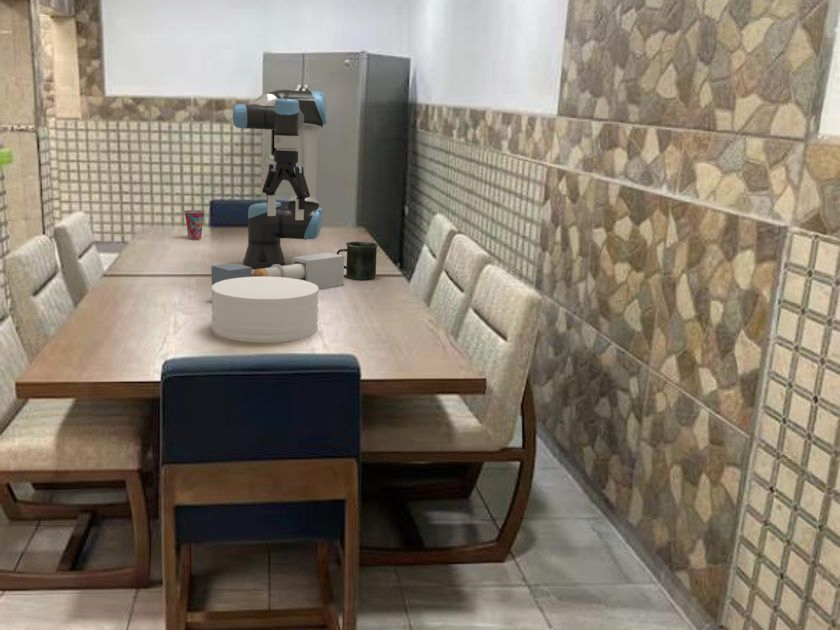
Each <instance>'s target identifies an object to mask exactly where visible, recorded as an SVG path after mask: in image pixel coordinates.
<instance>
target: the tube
mask: <svg viewBox="0 0 840 630" xmlns="http://www.w3.org/2000/svg"><path fill="white" fill-rule="evenodd" d="M252 277H285V278H293V279H303V278H306V263H299V264H292V263H291V264H285V266H281V265H279V264H274V265H272V266H271V267H270V268H262V269H255V270H253V272H252Z"/></svg>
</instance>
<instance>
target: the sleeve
mask: <svg viewBox="0 0 840 630" xmlns="http://www.w3.org/2000/svg"><path fill="white" fill-rule="evenodd" d="M299 263H306V278H303V279H299V280H304V281H308V282H311V283H313V284H315V285H317V286H318V288H319V290H323V289H329V288H334V287H340V286H341V287H342V286H344V278H345V277H344V273H345V272H344V270H345V269H344V266H345V256H344V255H341V254H339V255H337V253H333V252H322V253H313V254H307V255H299V256H292V257H291V265H292V264H299Z"/></svg>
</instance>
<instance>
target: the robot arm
mask: <svg viewBox="0 0 840 630" xmlns="http://www.w3.org/2000/svg"><path fill="white" fill-rule="evenodd" d="M326 102H327V101H326V97H325V94H324V93H323V92H322V91H313V90H298V89H297V90H296V89H293V90H292V89H276V90H273V91H270V92H265V93H263V94H260V96H258V97H257V98H256V100H255V101H254V102H252V103H250V104H244V103H242V104H240V103H239V104H238V103H237V104H234V106H233V109H232V121H233V125H234V127H235V128H237V129H243V130H247V129H248V130H253V129H254V130H267V131H269V130H271V131H274V134H273V135H274V138H273V139H274V140H273V141H274V142H273V143H274V144H273V145H274V148H275V150H274V151H273V161H274V162H275V163H276V164H273V163H271V164H270V163H269V164H268V172H267V175H266V179H265V180H264V184H263V187H262V190H261V191H262V194H265V195H266V202H259V203H254V204H251V205H249V207H248V210H247V211H248V213H247V227H248V229H247V230H248V231H247V236H248V237H247V241H248V242H247V248H246V251H245V255H244V257H243V263H242V265H244V266H248V267H252V269H255V270H256V269H262V268H270V267H271V266H272V265H274V264H279V265H281V266H285V265H286V259H285V257H284V252H283V249H282V245H281V239H289V240H290V239H291V240H305V241H306V240H316V239H317V238H318V237H319V236H320V233H321V229H322V225H323V219H324V218H323V217H324V215H323V214H324V209H323V208H322V207H320V202H319V201H318V200H317V199H316V192H317V191H316V190H317V189H316V188H317V168H318V167H317V166H318V165H317V164H318V147H319V145H318V144H319V143H318V142H319V134H320V133H321V132H322V131H323V128H324V126H326V125H327V124H328V113H327V112H328V111H327V104H326ZM283 181H287V182H289V183H290V185H291V197H290V198H289V199H288V200H287V202H286V206H282V204H281V202H280V201H277V200H276V199H277V194H276V192H277V189H279V186H280V185H281V184H282V182H283Z"/></svg>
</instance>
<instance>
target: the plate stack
mask: <svg viewBox="0 0 840 630" xmlns="http://www.w3.org/2000/svg"><path fill="white" fill-rule="evenodd" d="M319 290H320V289H319V288H318V286H317V285H315V284H313V283H311V282H308V281H304V280H299V279H293V278H285V277H253V276H252V277H241V278H233V279H227V280H223V281H220V282H217V283H215V284H213V285H212V284H211V303H212V304H211V312H212V314H211V322H212V324H211V330H212V332H213V333H214V334H215V335H217V336H219V337H222V338H224V339H228V340H233V341H238V342H245V343H246V342H248V343H249V342H250V343H281V342H291V341H297V340H302V339H306V338H309V337H311V336H313V335H315V334H316V333H317V332H318V331H319V323H318V322H319V305H318V304H319V296H318V294H319V293H320V292H319ZM212 294H213V295H212Z"/></svg>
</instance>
